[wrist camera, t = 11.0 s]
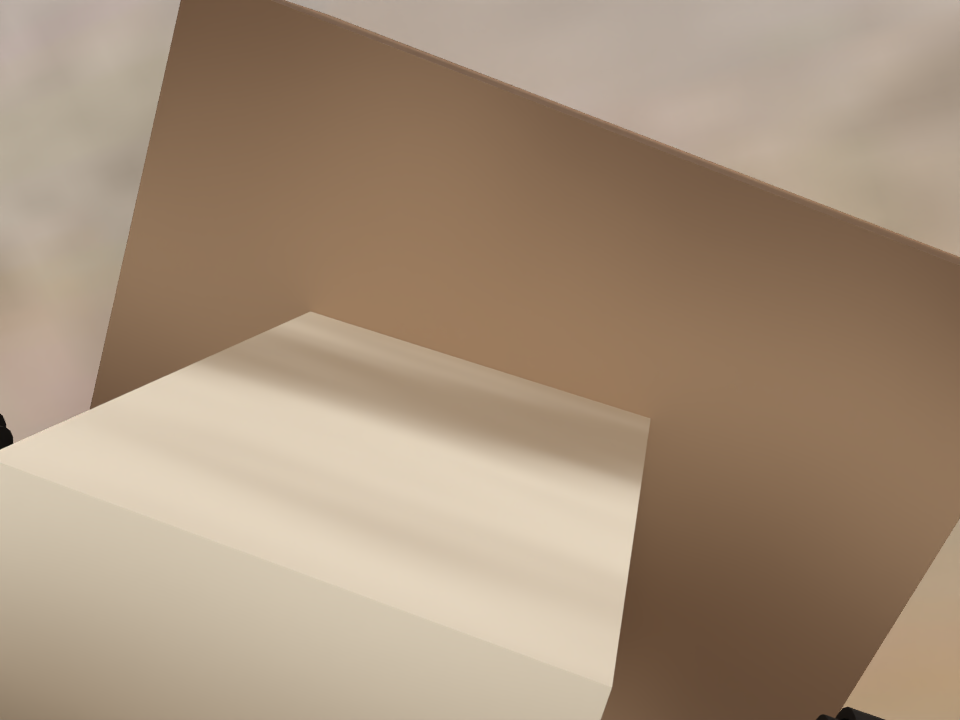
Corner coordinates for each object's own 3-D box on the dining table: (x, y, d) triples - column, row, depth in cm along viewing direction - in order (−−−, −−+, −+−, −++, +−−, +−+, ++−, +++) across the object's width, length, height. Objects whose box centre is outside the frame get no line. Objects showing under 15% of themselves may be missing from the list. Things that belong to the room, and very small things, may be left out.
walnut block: (335, 17, 16) (188, -32, 11) (960, 256, 15) (1085, 314, 10) (189, 539, 20) (33, 663, 15) (673, 772, 18) (666, 990, 14)
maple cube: (310, 311, 12) (-17, 457, 7) (650, 418, 11) (611, 688, 6) (253, 605, 14) (-55, 930, 8) (551, 717, 13) (443, 1165, 7)
